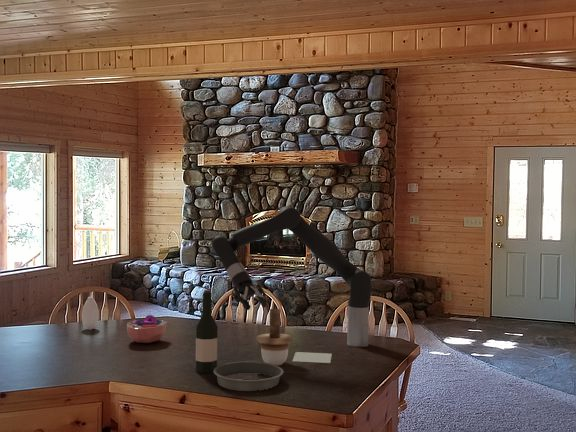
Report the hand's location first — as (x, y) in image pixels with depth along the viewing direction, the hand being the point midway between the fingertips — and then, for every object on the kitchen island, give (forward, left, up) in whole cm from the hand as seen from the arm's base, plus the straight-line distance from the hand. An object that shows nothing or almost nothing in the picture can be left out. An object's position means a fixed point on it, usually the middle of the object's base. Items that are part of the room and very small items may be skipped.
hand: (257, 307), depth 268 cm
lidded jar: (-8, +9, -21) cm, 24 cm away
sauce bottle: (+86, -38, -21) cm, 96 cm away
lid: (-8, +8, -11) cm, 16 cm away
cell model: (+52, -18, -21) cm, 59 cm away
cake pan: (-2, +34, -21) cm, 40 cm away
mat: (-22, -3, -20) cm, 30 cm away
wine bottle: (+16, +22, -21) cm, 34 cm away
